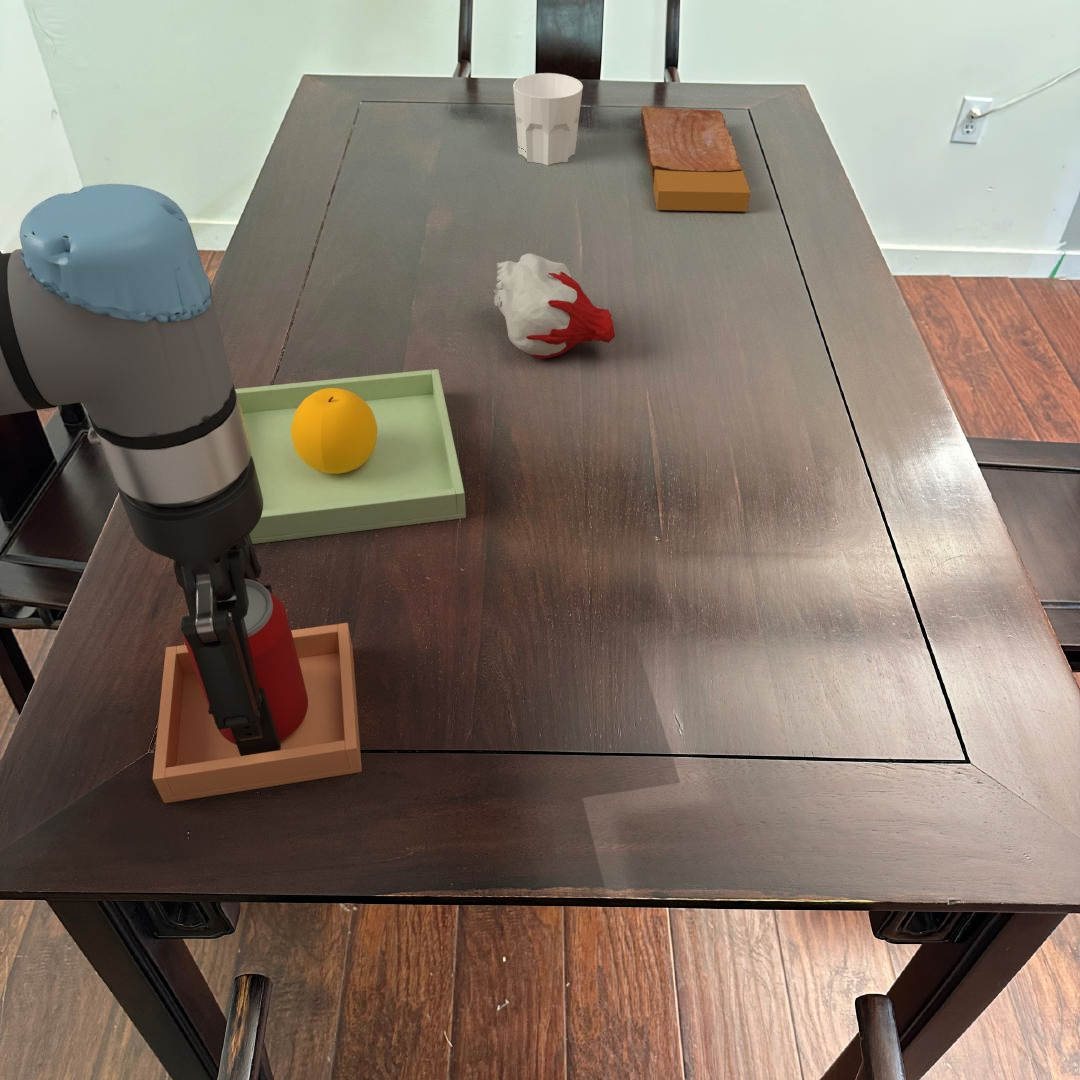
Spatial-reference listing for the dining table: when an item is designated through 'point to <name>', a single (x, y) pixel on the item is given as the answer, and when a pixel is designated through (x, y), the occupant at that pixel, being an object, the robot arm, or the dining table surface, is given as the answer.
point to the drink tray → (308, 753)
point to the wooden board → (693, 161)
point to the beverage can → (271, 660)
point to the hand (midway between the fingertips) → (261, 707)
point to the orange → (334, 431)
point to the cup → (547, 116)
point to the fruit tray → (374, 487)
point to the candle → (547, 308)
